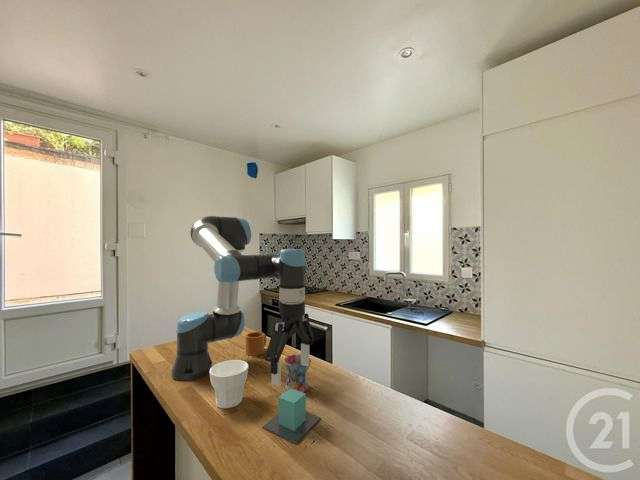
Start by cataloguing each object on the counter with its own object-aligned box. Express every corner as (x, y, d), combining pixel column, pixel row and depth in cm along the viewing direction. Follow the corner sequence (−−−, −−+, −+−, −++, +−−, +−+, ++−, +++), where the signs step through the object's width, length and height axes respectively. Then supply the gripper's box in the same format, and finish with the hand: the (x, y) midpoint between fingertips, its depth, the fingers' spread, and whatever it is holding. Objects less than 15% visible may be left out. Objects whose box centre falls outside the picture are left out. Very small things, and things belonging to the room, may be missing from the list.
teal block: (278, 423, 77) (278, 397, 77) (290, 413, 81) (290, 388, 81) (294, 431, 74) (294, 403, 74) (305, 419, 78) (305, 393, 79)
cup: (210, 417, 81) (211, 380, 81) (207, 396, 92) (207, 364, 92) (252, 405, 86) (252, 371, 87) (244, 387, 97) (244, 357, 98)
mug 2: (296, 399, 90) (296, 367, 90) (278, 390, 96) (278, 360, 96) (319, 385, 99) (319, 356, 99) (301, 377, 105) (301, 350, 105)
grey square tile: (262, 428, 76) (262, 404, 76) (288, 406, 86) (288, 386, 86) (296, 444, 69) (296, 419, 69) (320, 419, 79) (320, 397, 80)
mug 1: (273, 351, 132) (273, 332, 132) (252, 358, 123) (252, 339, 123) (262, 346, 138) (262, 328, 138) (241, 353, 129) (241, 334, 129)
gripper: (273, 312, 66) (272, 399, 65) (324, 295, 87) (324, 361, 87) (251, 308, 70) (250, 389, 69) (306, 293, 91) (305, 356, 91)
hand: (291, 374), depth 78 cm, fingers open, 13 cm apart
